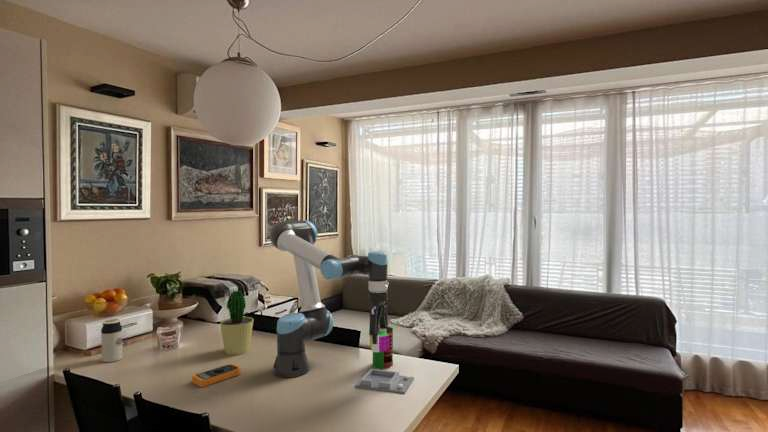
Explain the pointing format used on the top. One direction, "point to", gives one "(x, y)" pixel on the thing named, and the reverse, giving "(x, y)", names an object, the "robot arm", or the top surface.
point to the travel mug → (111, 340)
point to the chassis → (385, 381)
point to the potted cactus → (236, 326)
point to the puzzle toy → (381, 341)
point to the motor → (384, 353)
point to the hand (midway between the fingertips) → (379, 348)
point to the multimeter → (216, 375)
